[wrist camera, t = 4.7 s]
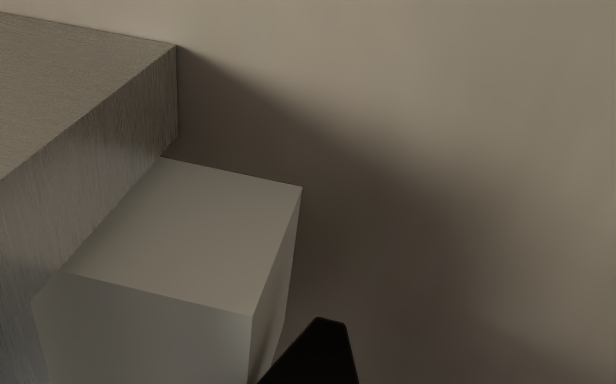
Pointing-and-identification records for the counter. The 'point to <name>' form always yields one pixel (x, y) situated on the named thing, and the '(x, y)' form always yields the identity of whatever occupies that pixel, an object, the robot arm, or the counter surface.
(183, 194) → the tan-tipped white bar
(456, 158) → the counter surface
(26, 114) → the gray rectangular block
